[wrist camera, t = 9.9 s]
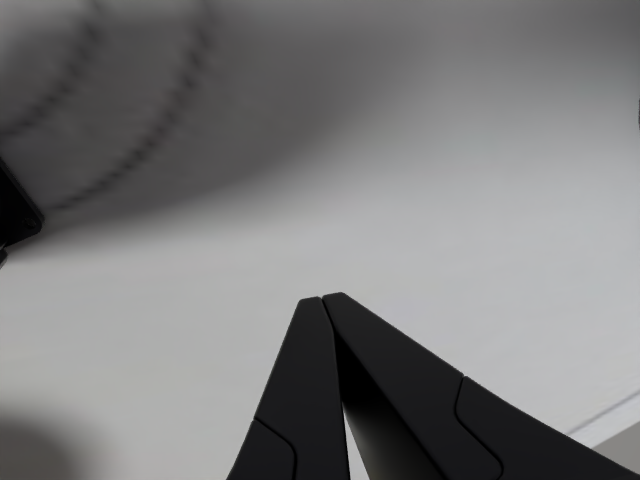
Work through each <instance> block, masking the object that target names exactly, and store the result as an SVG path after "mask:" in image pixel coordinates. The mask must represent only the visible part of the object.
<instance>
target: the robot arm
mask: <svg viewBox="0 0 640 480" xmlns="http://www.w3.org/2000/svg"><path fill="white" fill-rule="evenodd" d="M27 218H29V219H32V220H33V221H34V222H35V224H36V225H34V226H32V225H29V224H28V223H26V220H25V219H27ZM44 225H45V218H44V216H43V215H42V213H41V212H40V211H39V209H38V208H37V207H36V205H35V204H34V202H33V201H32V200H31V198H30V197H29V196H28V194H27V193H26V192H25V190H24V189H23V188H22V186H21V185H20V184H19V182H18V181H17V180H16V178H15V177H14V176H13V174H12V173H11V172H10V170H9V169H8V168H7V166H6V165H5V163H4V162H3V161H2V159H1V158H0V269H1V268H2V267H3V265H4V264H5V263H6V262H7V259H8V253H7V252H6V250H5V249H4V248H5V247H7V246H10V245H12V244H14V243H17V242H19V241H21V240H24V239H26V238H28V237H31V236H33V235H35V234H37V233H39V232H40V231H41V230H42V228H43V227H44ZM343 410H344V413H345V416H346V419H347V421H348V424H349V427H350V429H351V432H352V435H353V437H354V440H355V442H356V445H357V448H358V450H359V453H360V455H361V458H362V461H363V463H364V466H365V469H366V471H367V474H368V476H369V479H370V480H640V474H637V473H635V472H633V471H631V470H629V469H627V468H625V467H623V466H621V465H619V464H618V463H615V462H614V461H612V460H610V459H608V458H606V457H605V456H603V455H601V454H599V453H597V452H596V451H594V450H592V449H590V448H588V447H586V446H585V445H583V444H581V443H579V442H577V441H575V440H574V439H572V438H570V437H568V436H566V435H564V434H562V433H561V432H559V431H557V430H555V429H553V428H551V427H550V426H548V425H546V424H544V423H542V422H540V421H539V420H537V419H535V418H534V417H532V416H530V415H528V414H527V413H525V412H523V411H521V410H520V409H518V408H516V407H514V406H513V405H511V404H509V403H508V402H506V401H504V400H503V399H501V398H500V397H498V396H497V395H495V394H493V393H492V392H490V391H489V390H487V389H486V388H484V387H483V386H481V385H480V384H478V383H477V382H475V381H474V380H472V379H471V378H469V377H468V376H464V374H463V373H462V372H460V371H459V370H457V369H456V368H454V367H453V366H451V365H450V364H448V363H447V362H445V361H444V360H442V359H441V358H439V357H438V356H436V355H435V354H433V353H432V352H431V351H429V350H428V349H426V348H425V347H423V346H422V345H420V344H419V343H417V342H416V341H414V340H413V339H411V338H410V337H408V336H407V335H405V334H404V333H402V332H401V331H400V330H398V329H397V328H395V327H394V326H392V325H391V324H389V323H388V322H386V321H385V320H383V319H382V318H380V317H379V316H377V315H376V314H374V313H373V312H371V311H370V310H368V309H367V308H366V307H364V306H363V305H361V304H360V303H358V302H357V301H355V300H354V299H352V298H351V297H349V296H348V295H346V294H345V293H343V292H338V293H333V294H327V295H324V296H323V297H322V299H321V298H320V297H318V296H316V297H311V298H305V299H301V300H300V301H299V302H298V304H297V307H296V309H295V312H294V315H293V317H292V320H291V322H290V325H289V327H288V330H287V333H286V335H285V338H284V340H283V343H282V345H281V348H280V351H279V353H278V356H277V358H276V361H275V363H274V366H273V369H272V371H271V374H270V376H269V379H268V381H267V384H266V387H265V389H264V392H263V394H262V397H261V399H260V402H259V405H258V407H257V410H256V412H255V415H254V418H253V421H252V422H251V425H250V427H249V430H248V432H247V435H246V437H245V440H244V442H243V445H242V447H241V449H240V451H239V454H238V456H237V458H236V461H235V463H234V465H233V467H232V469H231V471H230V473H229V475H228V477H227V479H226V480H351V479H350V470H349V460H348V451H347V441H346V432H345V423H344V413H343Z"/></svg>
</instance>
